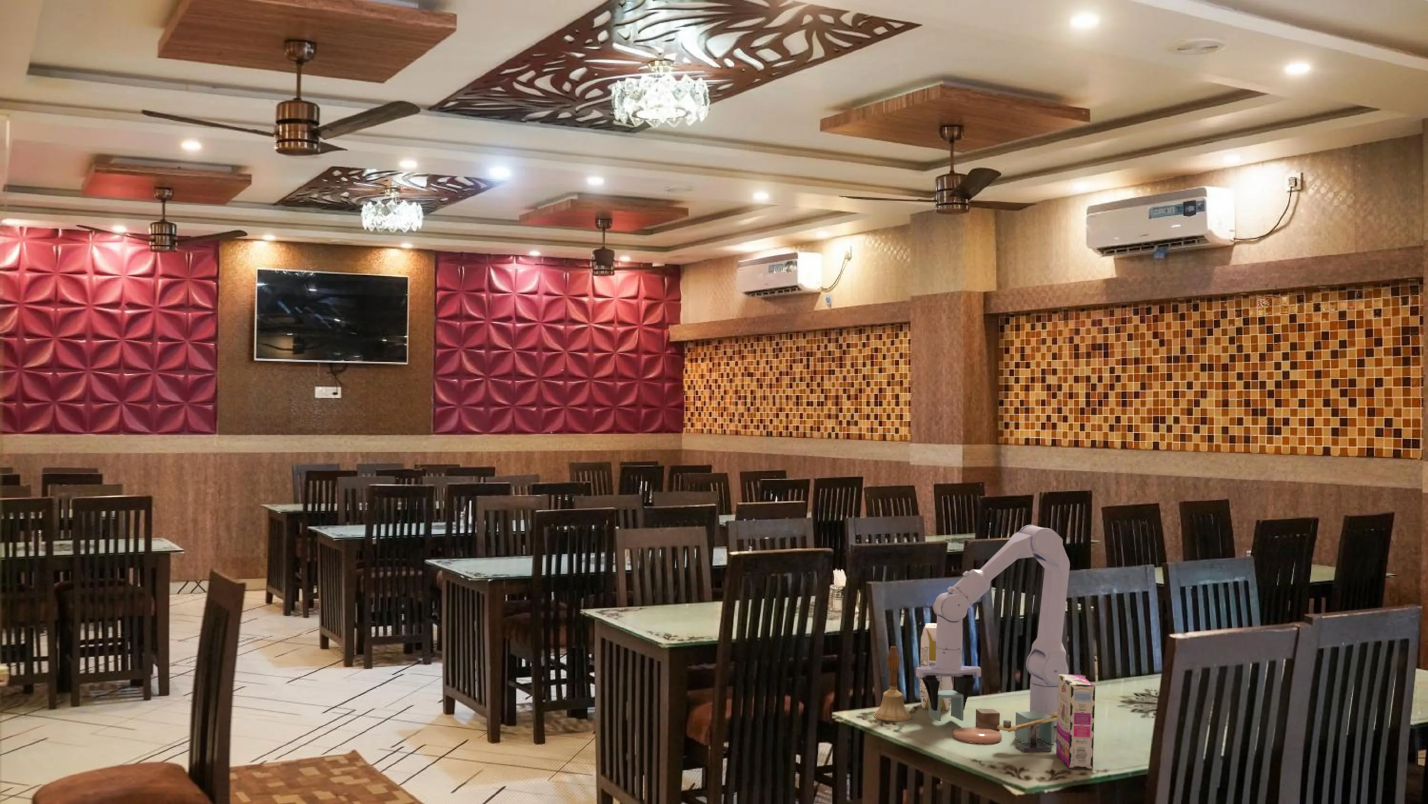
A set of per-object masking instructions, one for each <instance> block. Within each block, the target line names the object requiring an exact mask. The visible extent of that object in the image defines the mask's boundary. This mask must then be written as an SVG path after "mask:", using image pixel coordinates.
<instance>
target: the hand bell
mask: <svg viewBox="0 0 1428 804" xmlns="http://www.w3.org/2000/svg"><path fill="white" fill-rule="evenodd" d="M899 665H900V657H899V652H898V650H897V646H895V645H892V646H890V648H889V652H888V655H887V668H888V672H889V688H888V689H887V690H885V691H884V692H883V693H882V700H881V704H880V706H879V708H878V709H877V710H876V711H875V712H874V714H873V716H874V715H875V716H876V717H877V718H876V717H875V718H876V719H878V720H882V721H885V722H906V721H908V720H911V719H912V716H911V714H910V713H909V712H908V710H907V709H906V706H905V702H904V695H903V693H902V692H900V691H899V690H898V684H897V683H898V682H897V680H898V679H897V675H898V671H899V667H900V666H899Z"/></svg>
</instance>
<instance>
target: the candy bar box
mask: <svg viewBox="0 0 1428 804" xmlns="http://www.w3.org/2000/svg"><path fill="white" fill-rule="evenodd" d="M1095 709H1096V685H1094V684H1093V682H1091V681H1089V679H1086V678H1085V677H1084V676H1083V675H1081V674H1069V673H1068V674H1058V703H1057V726H1056V740H1055V741H1056V742H1055V743H1056V745H1055V746H1056V748H1055V755H1056V756H1057V757H1058V758H1059V759H1060V760H1061V761H1062V762H1063V763H1064V764H1065V765H1066V767H1067V768H1069V769H1073V770H1075V769H1076V770H1093V769H1094V745H1095V744H1094V739H1095V737H1094V736H1095V711H1096V710H1095Z"/></svg>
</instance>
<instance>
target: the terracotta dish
mask: <svg viewBox="0 0 1428 804" xmlns="http://www.w3.org/2000/svg"><path fill="white" fill-rule="evenodd" d="M1002 736H1003V734H1002V733H1001V732H1000V731H995V730H991V729H986V728H977V727H976V726H974V727H973V726H971V727H969V726H967V727H959V728H956V729H954V730H953V738H954V737H955V738H954V739H956V740H957V739H959V740H958V741H960V740H962V741H961V742H964V741H966V742H965V743H968V742H972V743H971V744H976V743H979V744H980V743H982V744H980V745H991V744H992V743H993V744H998V743H1001V742H1002V741H1003V740H1002V739H1003V737H1002ZM997 742H998V743H997ZM983 743H984V744H983ZM979 744H978V745H979Z"/></svg>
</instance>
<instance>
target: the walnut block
mask: <svg viewBox="0 0 1428 804" xmlns="http://www.w3.org/2000/svg"><path fill="white" fill-rule="evenodd" d="M1000 720H1001V713H1000V712H999V711H997V710H996V709H994V708H975V727H977V728H986V729H991V730H995V731H998V732H1000V731H1001V730H1000V729H998V728H997V726H998V725H1001V723H1000V722H1001V721H1000Z"/></svg>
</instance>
